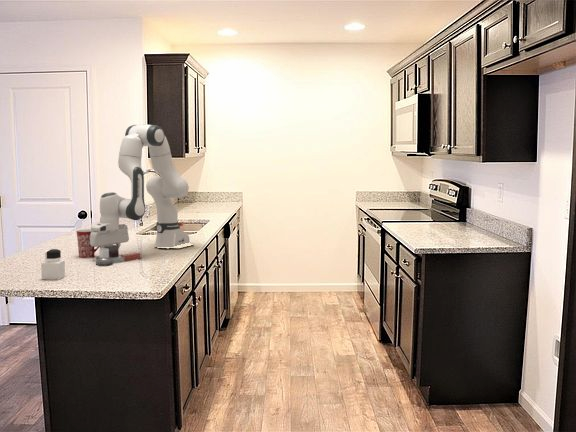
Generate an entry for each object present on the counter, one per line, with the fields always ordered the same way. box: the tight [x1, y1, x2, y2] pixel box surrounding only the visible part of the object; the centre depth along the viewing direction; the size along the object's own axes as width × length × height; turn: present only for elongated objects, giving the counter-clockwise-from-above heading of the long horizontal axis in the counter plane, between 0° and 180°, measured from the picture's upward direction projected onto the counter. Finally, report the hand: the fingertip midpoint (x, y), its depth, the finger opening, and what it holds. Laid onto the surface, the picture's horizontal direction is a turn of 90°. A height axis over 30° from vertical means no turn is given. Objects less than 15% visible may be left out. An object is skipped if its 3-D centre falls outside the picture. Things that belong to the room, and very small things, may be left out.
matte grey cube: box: [104, 244, 120, 258], centre depth 277 cm, size 6×6×6 cm
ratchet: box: [95, 248, 141, 267], centre depth 269 cm, size 23×8×8 cm, turn 142°
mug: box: [75, 228, 100, 259], centre depth 280 cm, size 13×9×14 cm
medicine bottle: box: [40, 248, 66, 281], centre depth 234 cm, size 7×7×12 cm
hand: (110, 253), depth 277 cm, fingers closed on matte grey cube, 6 cm apart
